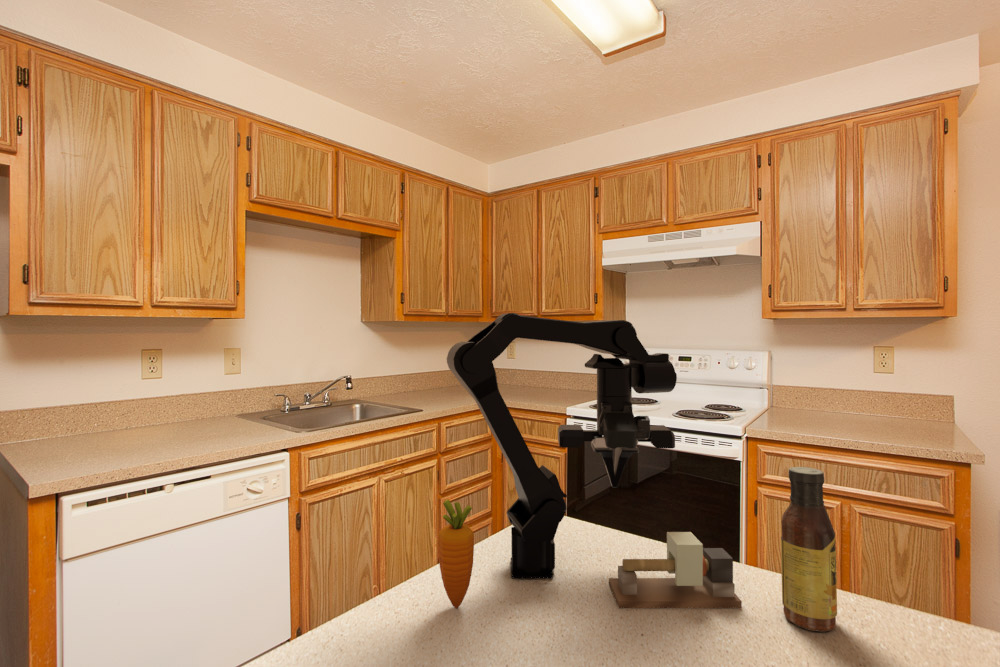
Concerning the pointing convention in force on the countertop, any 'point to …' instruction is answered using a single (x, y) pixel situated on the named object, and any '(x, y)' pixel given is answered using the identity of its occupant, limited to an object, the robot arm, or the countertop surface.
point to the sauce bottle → (808, 554)
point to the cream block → (686, 558)
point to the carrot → (456, 553)
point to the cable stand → (666, 592)
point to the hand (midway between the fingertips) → (614, 487)
